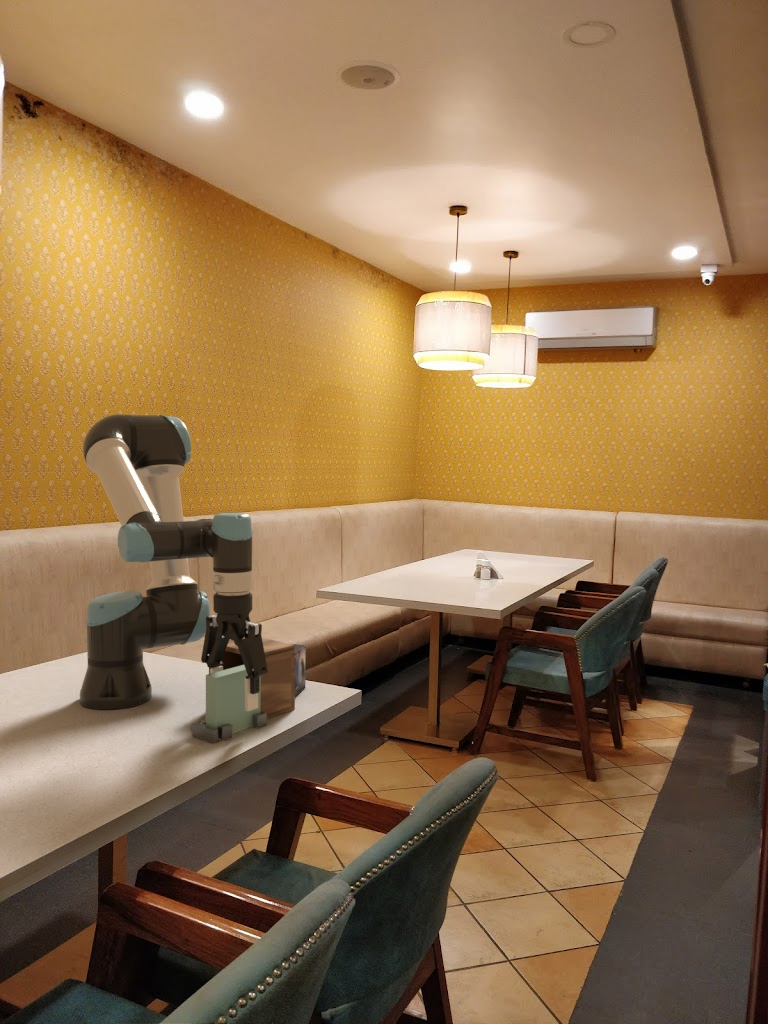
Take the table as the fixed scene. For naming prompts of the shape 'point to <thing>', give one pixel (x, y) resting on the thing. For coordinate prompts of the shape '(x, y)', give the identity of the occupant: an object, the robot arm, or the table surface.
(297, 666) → the small box
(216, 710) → the door
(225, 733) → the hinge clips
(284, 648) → the cabinet
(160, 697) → the table surface
